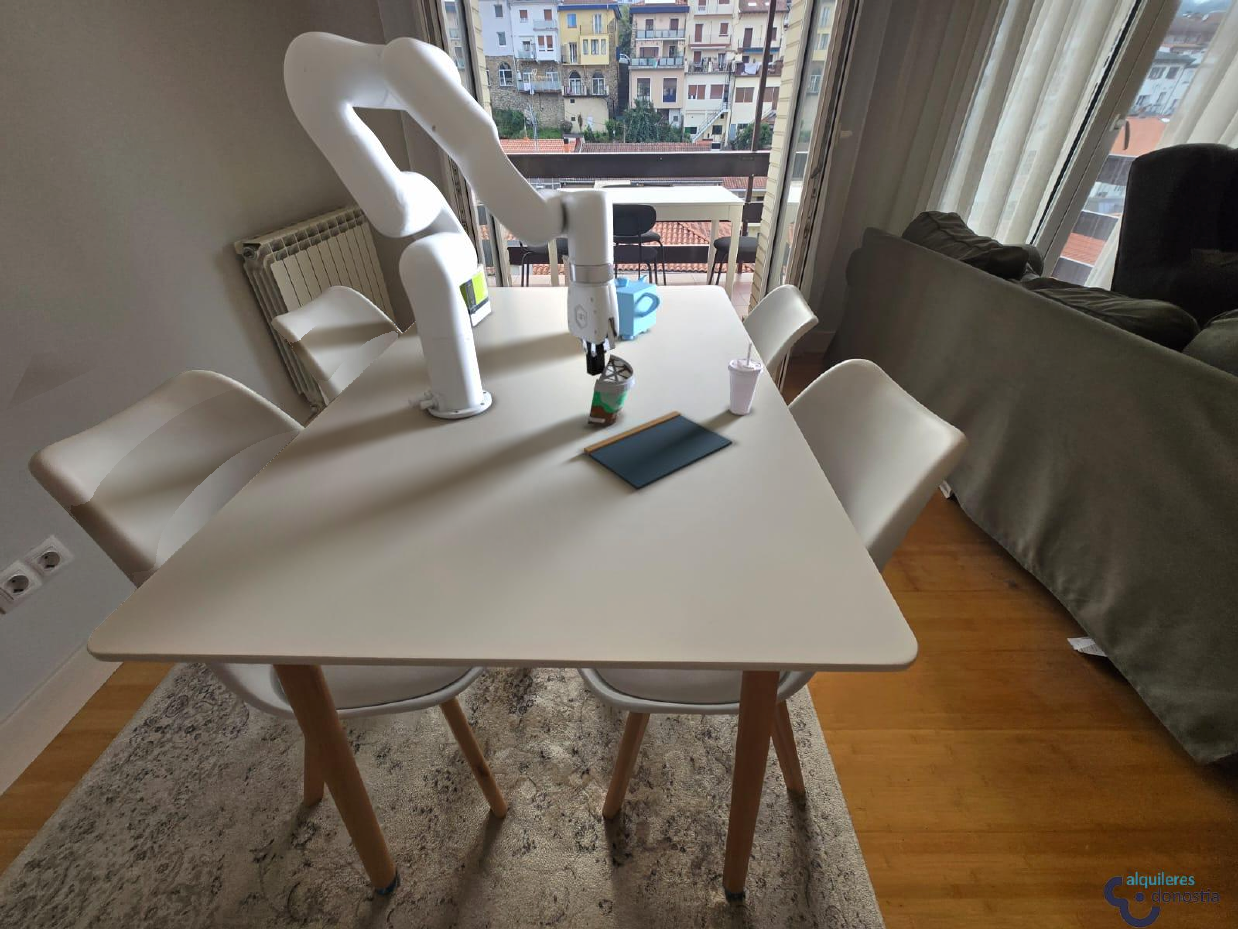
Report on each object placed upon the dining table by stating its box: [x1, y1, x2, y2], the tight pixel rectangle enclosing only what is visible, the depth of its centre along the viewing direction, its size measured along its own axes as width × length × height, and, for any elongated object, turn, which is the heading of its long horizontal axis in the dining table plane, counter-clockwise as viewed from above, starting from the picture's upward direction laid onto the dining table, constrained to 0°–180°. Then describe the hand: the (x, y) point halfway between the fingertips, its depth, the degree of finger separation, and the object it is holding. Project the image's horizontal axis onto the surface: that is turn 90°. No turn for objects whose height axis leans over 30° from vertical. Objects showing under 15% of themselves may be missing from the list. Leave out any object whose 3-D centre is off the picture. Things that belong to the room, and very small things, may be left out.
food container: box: [587, 353, 635, 427], centre depth 95 cm, size 12×6×10 cm, turn 168°
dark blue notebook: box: [583, 410, 733, 490], centre depth 89 cm, size 22×14×1 cm, turn 129°
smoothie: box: [727, 342, 764, 416], centre depth 97 cm, size 6×6×14 cm
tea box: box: [459, 263, 492, 328], centre depth 149 cm, size 15×10×15 cm, turn 172°
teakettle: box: [613, 274, 662, 341], centre depth 137 cm, size 19×19×15 cm
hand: (596, 372), depth 97 cm, fingers closed
